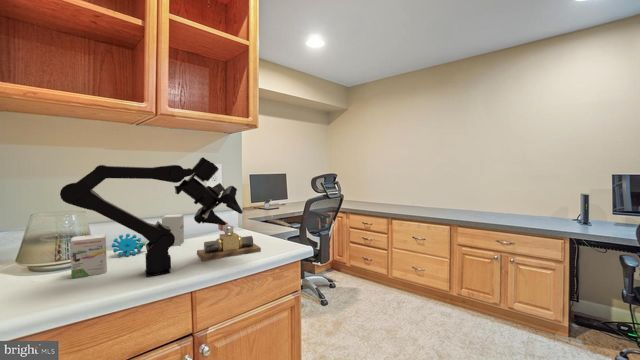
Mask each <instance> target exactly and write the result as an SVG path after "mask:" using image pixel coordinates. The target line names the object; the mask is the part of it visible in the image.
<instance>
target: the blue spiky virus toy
mask: <svg viewBox="0 0 640 360" xmlns="http://www.w3.org/2000/svg"><path fill="white" fill-rule="evenodd" d="M130 236H131V234H130V233H126V234H125V238H124V235H123V234H120V235H119V236H118V238H117V237H116V238H114V239H113V243H112V244H111V248H113V250H112V251H113V253H114V254H115V253H117V252H118V253H117V255H118V257H122V256H123V254H125V255H124V257H126V258H128V257H130V253H131V252H132V253H131V255H132V256H135V255H137V252H141V251H142V249H143V247H146V244H147V242H146V241H143V242H141V241H142V239H141V237H138V238H137V235H136V234H132V236H131V237H130ZM119 239H120V240H119Z"/></svg>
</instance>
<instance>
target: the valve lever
mask: <svg viewBox="0 0 640 360" xmlns="http://www.w3.org/2000/svg"><path fill="white" fill-rule="evenodd" d="M223 221H224V222H225V223H226V225H218V224H217V226H218V227H217V228H218V230H219V231H221V232H223V233H224V234H225V235H231V234H233V233H234V226H233V225H230V224H228V222H227V221H225V220H223Z"/></svg>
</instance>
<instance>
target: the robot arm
mask: <svg viewBox="0 0 640 360" xmlns="http://www.w3.org/2000/svg"><path fill="white" fill-rule="evenodd" d="M218 171H219V167H218V166H217V165H216V164H215V163H213V162H211V161H210V160H208V159H206V158H205V157H203V156H202V157H200V159H198V162H197V163H196V164H194V166H193V167H191V168H189V167H188V168H183V167H182V166H181V165H179V164H169V165H161V166H151V167H148V166H145V167H144V166H117V165H116V166H113V165H105V164H99V165H97V166H96V167H95V168H94V169H93V170H92V171H90V172H89V173H87V174H86V175H85V176H82V178H80V179H79V180H78V181H76V182H71V183H68V184H65V185H64V186H62V188H61V189H60V192H59V195H60V200H61V201H63V202H64V203H65V204H68V205H72V206H73V207H77V208H79V209H80V208H81V209H85V210H90V211H93V212H96V213H97V214H100V215H101V216H104V217H106V218H108V219H109V220H111V221H113V222H115V223H118V224H119V225H121V226H124V227H125V228H127V229H129V230H131V231H133V232H135V233H137V234H139V235H141V236H142V237H143V238H144V239H146V240H147V241H148V242H146V244H145V249H146V252H145V253H144V254H145V256H144V257H145V270H144V271H145V272H144V273H145V277H152V276H157V275H159V276H160V275H163V274H168V273H170V272H171V268H172V259H171V254H169V250H170V248H172V247H173V246H172V245H173V244H174V242H175V237H174V235H173V233H172V232H171V229H170V228H169V227H168V226H164V225H162V222H160V221H158V220H157V222H155V224H154V223H151V222H148V221H146V220H144V219H142V218H141V217H140V218H139V217H138V216H136V215H135V214H132V213H130V212H129V211H127V210H125V209H122V208H121V207H120V206H118V205H115V204H114V203H112V202H109V201H108V200H107V199H105V198H103V197H102V196H101V195H100V194H98V192H96V191H95V190H94V189H95V188H96V187H97V186H99V185H100V184H101V183H103V182H104V181H105V180H106V179H129V180H130V179H131V180H133V179H134V180H135V179H136V180H138V179H139V180H142V179H143V180H145V179H146V180H149V179H150V180H156V181H161V182H168V183H173V184H174V183H175V184H176V183H179V185H174V187H173V188H174V189H175V194H176V195H180V194H181V192H183V193H184V194H186V195H187V196H189V198H191V199H193V200H194V201H193V204H195V205H198V204H199V205H201V207H200V208H198V209H197V211H196V214H195V215H194V216H193V220H194V222H196V223H197V224H201V223H202V224H211V225H212V224H213V225H217V226H218V225H226V223H225V222H226V221H225V220H224V219H222V218H221V217H220V216H218V214H216V213H215V212H214V209H215V208H217V207H218V206H220V205H221V204H224V205H225V207H227V208H228V209H231V210H232V211H234V212H236V213H238V214H240V215H242V214H243V209H242V208H241V206H240V205H239V203H238V201H237V199H236V196H237V191H238V189H237V188H236V187H235V186H234V185H229V186H227V187H226V188H225V186H223V185H222V183H221V182H219V183H217V184H215V185H213V186H211V185H207V186H206V185H204V184H203V183H204V182H209V181H210V180H211V179H212V178H213V176H214V175H215V174H216V173H217V172H218ZM187 177H189V178H188V179H186V178H187ZM224 221H225V222H224Z"/></svg>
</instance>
